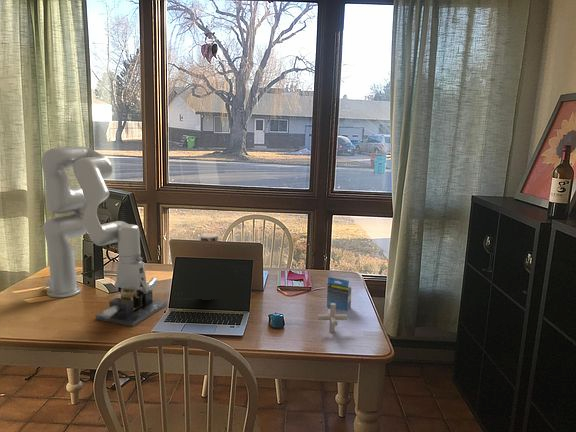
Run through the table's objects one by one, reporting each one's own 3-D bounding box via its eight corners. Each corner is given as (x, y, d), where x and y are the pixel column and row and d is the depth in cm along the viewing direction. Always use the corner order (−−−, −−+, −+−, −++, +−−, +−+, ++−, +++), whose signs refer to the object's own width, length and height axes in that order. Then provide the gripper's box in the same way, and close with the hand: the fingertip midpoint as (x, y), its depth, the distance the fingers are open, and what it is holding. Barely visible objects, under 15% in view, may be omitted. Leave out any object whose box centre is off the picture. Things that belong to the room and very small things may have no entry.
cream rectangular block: (121, 309, 173) (120, 291, 172) (132, 303, 179) (131, 286, 177) (131, 311, 172) (130, 293, 170) (142, 305, 177) (141, 287, 176)
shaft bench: (87, 323, 165) (85, 299, 164) (139, 295, 192) (138, 274, 190) (125, 331, 160) (124, 306, 158) (173, 301, 187) (172, 279, 185)
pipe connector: (315, 325, 168) (316, 298, 166) (343, 324, 169) (344, 298, 167) (319, 337, 159) (320, 309, 156) (349, 337, 159) (350, 309, 157)
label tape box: (351, 307, 185) (352, 277, 182) (347, 311, 181) (348, 280, 179) (330, 303, 189) (331, 273, 186) (326, 306, 185) (327, 276, 183)
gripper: (155, 258, 172) (157, 305, 176) (117, 253, 178) (120, 299, 181) (142, 264, 165) (144, 313, 169) (103, 258, 171) (106, 306, 175)
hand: (131, 305), depth 175 cm, fingers closed on cream rectangular block, 4 cm apart
